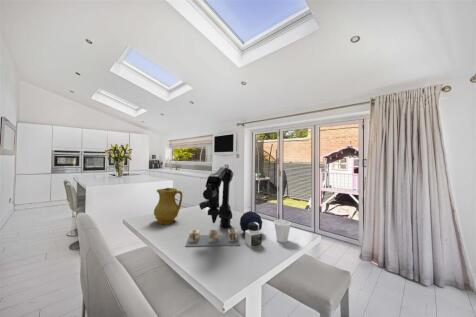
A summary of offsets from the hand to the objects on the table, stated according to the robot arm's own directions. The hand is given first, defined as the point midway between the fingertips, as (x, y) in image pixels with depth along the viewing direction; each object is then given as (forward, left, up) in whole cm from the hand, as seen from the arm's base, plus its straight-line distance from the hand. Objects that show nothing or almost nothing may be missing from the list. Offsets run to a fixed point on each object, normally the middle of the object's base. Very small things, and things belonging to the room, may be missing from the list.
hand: (213, 222), depth 112 cm
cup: (-33, +24, -11) cm, 42 cm away
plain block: (0, 0, -10) cm, 10 cm away
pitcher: (+11, -48, -11) cm, 51 cm away
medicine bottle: (-16, +17, -11) cm, 26 cm away
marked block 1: (+9, -6, -10) cm, 15 cm away
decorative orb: (-25, +5, -11) cm, 28 cm away
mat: (0, 0, -11) cm, 11 cm away
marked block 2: (-9, +6, -10) cm, 15 cm away
